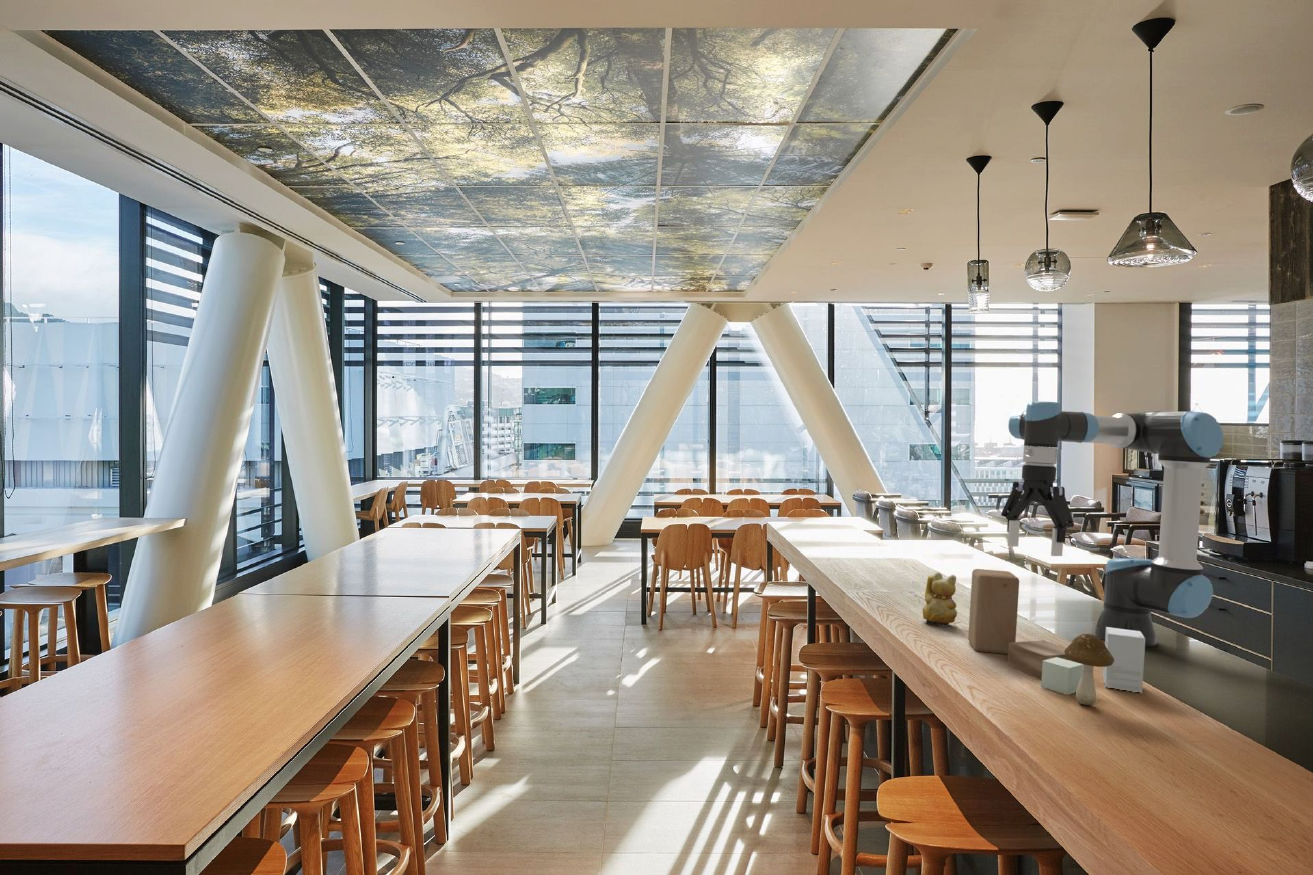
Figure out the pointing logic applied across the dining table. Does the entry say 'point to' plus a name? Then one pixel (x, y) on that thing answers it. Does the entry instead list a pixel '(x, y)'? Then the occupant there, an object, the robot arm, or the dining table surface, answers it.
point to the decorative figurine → (940, 600)
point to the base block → (1033, 656)
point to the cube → (1061, 675)
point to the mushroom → (1088, 663)
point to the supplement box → (1125, 659)
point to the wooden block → (993, 610)
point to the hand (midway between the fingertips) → (1034, 551)
